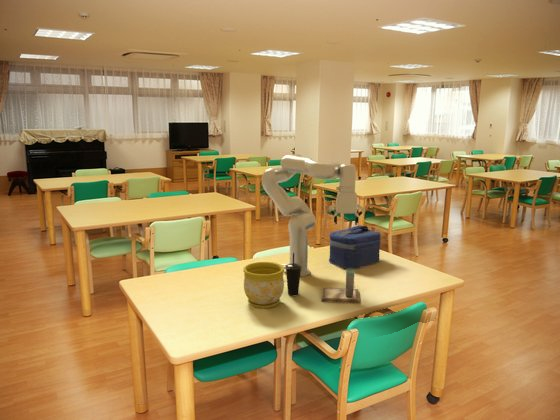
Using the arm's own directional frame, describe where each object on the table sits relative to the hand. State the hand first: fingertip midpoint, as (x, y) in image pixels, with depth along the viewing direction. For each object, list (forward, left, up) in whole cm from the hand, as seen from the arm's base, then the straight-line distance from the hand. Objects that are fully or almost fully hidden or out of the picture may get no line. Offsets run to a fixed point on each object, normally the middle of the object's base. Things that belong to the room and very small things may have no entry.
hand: (345, 224), depth 215 cm
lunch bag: (+7, +35, -31) cm, 47 cm away
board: (-2, -18, -30) cm, 35 cm away
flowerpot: (-36, -30, -31) cm, 56 cm away
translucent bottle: (+2, -21, -29) cm, 36 cm away
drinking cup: (-24, -18, -31) cm, 43 cm away
